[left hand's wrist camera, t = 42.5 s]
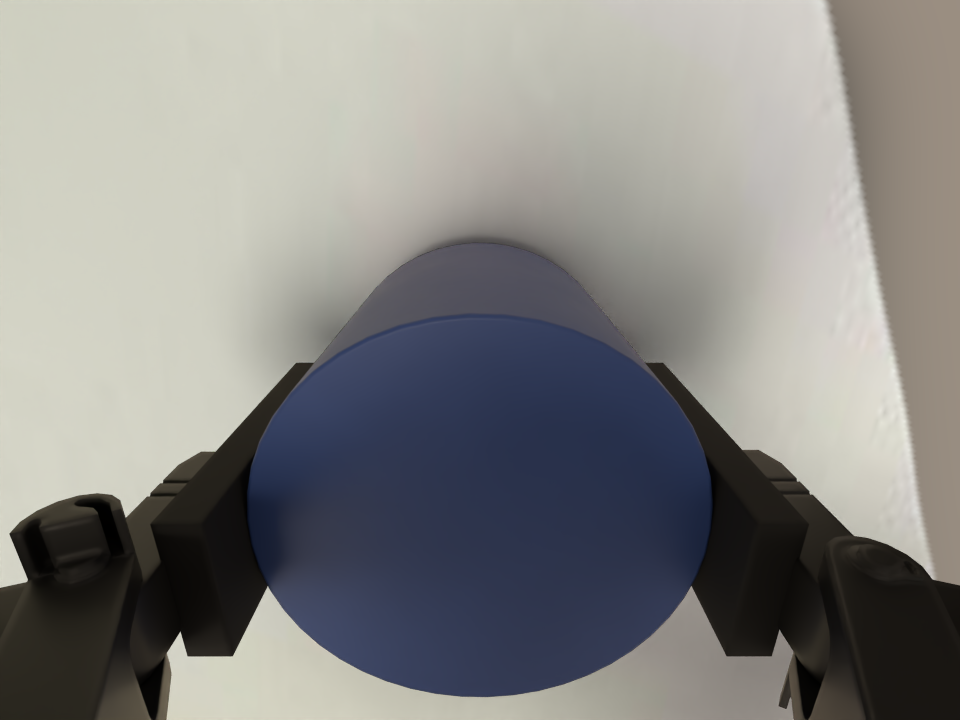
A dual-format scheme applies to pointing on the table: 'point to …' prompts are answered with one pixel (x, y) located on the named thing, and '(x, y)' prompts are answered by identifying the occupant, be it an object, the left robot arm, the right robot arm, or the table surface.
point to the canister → (479, 483)
